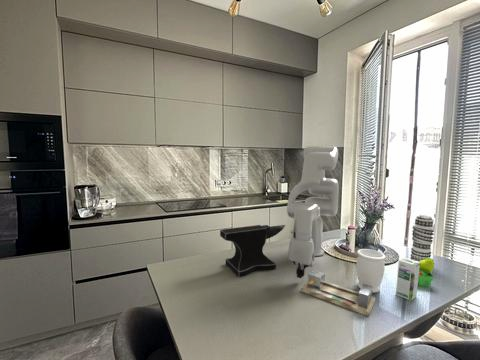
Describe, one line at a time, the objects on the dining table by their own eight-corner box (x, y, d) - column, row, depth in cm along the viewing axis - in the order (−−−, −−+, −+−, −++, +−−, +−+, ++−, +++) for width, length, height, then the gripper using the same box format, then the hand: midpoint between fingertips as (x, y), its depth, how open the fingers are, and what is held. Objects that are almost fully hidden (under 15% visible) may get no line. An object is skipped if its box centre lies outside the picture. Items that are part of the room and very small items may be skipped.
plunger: (304, 289, 100) (304, 277, 100) (312, 281, 107) (313, 269, 107) (316, 293, 97) (317, 281, 97) (324, 284, 104) (324, 273, 104)
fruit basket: (404, 274, 119) (407, 251, 118) (427, 277, 116) (429, 254, 115) (412, 285, 108) (414, 260, 107) (437, 289, 105) (440, 264, 104)
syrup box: (394, 294, 101) (398, 259, 99) (400, 290, 104) (404, 256, 103) (411, 301, 96) (414, 265, 95) (417, 296, 100) (420, 261, 98)
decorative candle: (407, 263, 131) (412, 216, 128) (410, 257, 138) (414, 213, 135) (429, 268, 125) (435, 219, 122) (431, 262, 132) (436, 216, 129)
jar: (381, 297, 98) (385, 260, 97) (353, 289, 104) (355, 254, 102) (383, 285, 107) (386, 251, 106) (356, 278, 113) (359, 246, 111)
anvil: (228, 280, 109) (229, 236, 107) (216, 266, 122) (216, 227, 120) (293, 265, 125) (294, 227, 123) (275, 254, 138) (277, 220, 136)
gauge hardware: (306, 287, 102) (307, 275, 102) (313, 279, 108) (314, 268, 108) (367, 309, 89) (368, 295, 88) (371, 299, 95) (372, 286, 94)
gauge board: (300, 291, 102) (300, 287, 101) (312, 279, 111) (312, 276, 111) (368, 316, 87) (369, 312, 86) (375, 300, 96) (375, 296, 96)
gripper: (282, 233, 108) (280, 274, 109) (316, 241, 98) (313, 286, 100) (290, 229, 113) (288, 268, 115) (323, 237, 104) (320, 279, 106)
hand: (300, 276), depth 108 cm, fingers closed
